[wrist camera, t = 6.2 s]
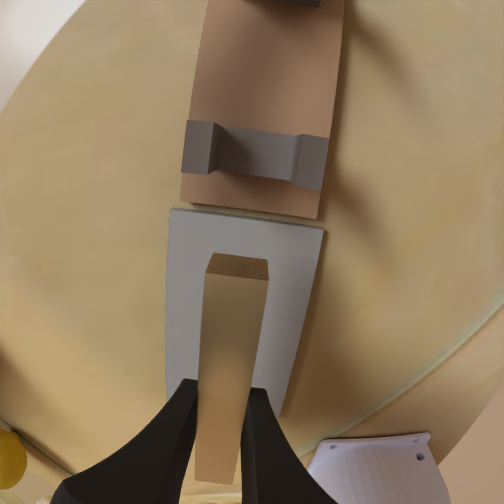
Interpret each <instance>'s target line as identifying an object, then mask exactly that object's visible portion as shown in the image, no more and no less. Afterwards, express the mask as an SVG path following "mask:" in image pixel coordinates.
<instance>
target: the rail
mask: <svg viewBox="0 0 504 504" xmlns="http://www.w3.org/2000/svg"><path fill="white" fill-rule="evenodd" d="M268 286H269V272H268V260H267V259H260V258H252V257H245V256H237V255H229V254H222V253H214V252H213V254H212V257H211V259H210V261H209V264H208V266H207V269H206V271H205V278H204V290H203V303H202V317H201V332H200V348H199V366H198V386H197V389H198V406H197V432H196V443H195V480H198V481H205V482H212V483H220V484H229V485H232V483H233V478H234V473H235V468H236V463H237V458H238V453H239V447H240V441H241V433H242V428H243V423H244V417H245V412H246V407H247V401H248V396H249V394H250V389H251V384H252V378H253V372H254V367H255V361H256V356H257V350H258V344H259V339H260V333H261V327H262V321H263V315H264V309H265V304H266V298H267V292H268Z"/></svg>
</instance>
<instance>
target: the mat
mask: <svg viewBox="0 0 504 504" xmlns="http://www.w3.org/2000/svg"><path fill="white" fill-rule="evenodd" d="M323 232H324V229H323V228H322V227H317V226H310V225H303V224H296V223H289V222H282V221H275V220H267V219H260V218H253V217H245V216H237V215H229V214H221V213H213V212H205V211H197V210H188V209H180V208H172V209H170V215H169V230H168V249H167V272H166V323H165V338H166V388H167V402H168V401H169V399H170V398H171V397H172V395H173V394H174V392H175V391H176V389H177V388H178V386H179V385H180V383H181V381H182V380H183V379H185V378H188V379H194V380H198V366H199V348H200V332H201V317H202V303H203V290H204V278H205V271H206V269H207V266H208V264H209V261H210V259H211V257H212V254H213V252H214V253H222V254H229V255H237V256H245V257H252V258H260V259H267V260H268V272H269V286H268V292H267V298H266V304H265V309H264V315H263V321H262V327H261V333H260V339H259V344H258V350H257V356H256V361H255V367H254V372H253V378H252V384H251V387H255V388H264V389H265V390H266V391H267V394H268V398H269V401H270V404H271V407H272V410H273V412H274V415H275V417H278V418H279V416H280V412H281V409H282V405H283V402H284V398H285V394H286V391H287V387H288V383H289V380H290V376H291V372H292V368H293V365H294V361H295V357H296V353H297V349H298V345H299V341H300V337H301V333H302V329H303V325H304V320H305V316H306V312H307V308H308V303H309V299H310V294H311V290H312V285H313V281H314V276H315V271H316V267H317V262H318V257H319V252H320V247H321V242H322V237H323Z"/></svg>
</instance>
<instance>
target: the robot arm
mask: <svg viewBox="0 0 504 504" xmlns="http://www.w3.org/2000/svg"><path fill="white" fill-rule="evenodd" d="M197 386H198V380H194V379H188V378H185V379H183V380H182V381H181V383H180V385H179V386H178V388H177V389H176V391H175V392H174V394H173V395H172V397H171V398H170V399H169V401H168V402H167V403H166V404H165V406H164V407H163V408H162V409H161V410H160V412H159V413H158V414H157V415H156V416H155V417H154V418H153V419H152V420H151V422H150V423H149V424H148V425H147V426H146V427H145V428H144V429H143V430H142V431H141V432H140V433H139V434H137V435H136V436H135V437H134V438H133V439H132V440H130V441H129V442H128V443H127V444H126V445H124V446H123V447H122V448H120V449H119V450H118V451H116V452H115V453H113V454H112V455H110V456H109V457H107V458H106V459H104V460H102V461H101V462H99V463H97V464H96V465H94V466H92V467H90V468H88V469H87V470H85V471H82V472H80V473H78V474H76V475H73V476H71V477H69V478H66V479H64V480H63V481H62V482H61V484H60V485H59V487H58V488H57V490H56V491H55V493H54V495H53V497H52V499H51V501H50V504H179V498H180V492H181V487H182V483H183V479H184V476H185V472H186V469H187V465H188V462H189V458H190V455H191V451H192V448H193V444H194V441H195V437H196V432H197V406H198V389H197ZM430 438H431V435H430V433H429V432H426V433H418V434H410V435H401V436H391V437H378V438H361V439H327V440H323V441H322V442H320V444H319V446H318V448H317V450H316V452H315V454H314V456H313V458H312V461H311V463H310V465H309V467H308V469H307V470H306V469H305V467H304V466H303V465H302V463H301V462H300V460H299V459H298V458H297V456H296V455H295V453H294V451H293V450H292V448H291V446H290V445H289V443H288V441H287V440H286V438H285V436H284V434H283V432H282V430H281V428H280V426H279V424H278V421H277V419H276V417H275V415H274V412H273V410H272V407H271V404H270V401H269V398H268V394H267V391H266V390H265V389H264V388H255V387H251V389H250V394H249V396H248V401H247V407H246V412H245V417H244V423H243V428H242V433H241V441H240V448H241V473H242V504H451V503H450V496H449V493H448V490H447V488H446V485H445V483H444V481H443V478H442V476H441V474H440V471H439V469H438V467H437V464H436V462H435V460H434V458H433V455H432V453H431V451H430V449H429V447H428V444H427V442H428V441H429V439H430Z"/></svg>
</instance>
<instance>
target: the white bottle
mask: <svg viewBox="0 0 504 504" xmlns="http://www.w3.org/2000/svg"><path fill="white" fill-rule="evenodd" d="M52 497H53V496H44V497H42V498H40V499H38V501H37V502H36V504H50V501H51V499H52Z"/></svg>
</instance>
